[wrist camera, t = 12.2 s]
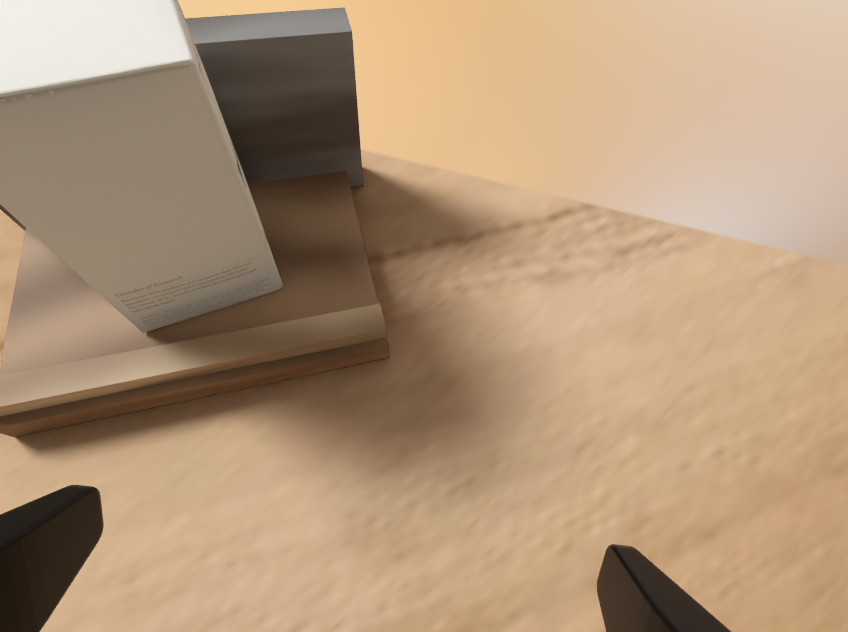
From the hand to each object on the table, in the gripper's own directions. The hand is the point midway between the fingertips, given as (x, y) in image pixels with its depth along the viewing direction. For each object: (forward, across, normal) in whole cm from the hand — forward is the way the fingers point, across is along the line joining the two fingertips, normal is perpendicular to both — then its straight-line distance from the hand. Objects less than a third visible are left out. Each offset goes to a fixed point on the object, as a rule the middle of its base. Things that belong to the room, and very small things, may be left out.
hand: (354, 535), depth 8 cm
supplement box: (+18, +12, 0) cm, 21 cm away
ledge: (+18, +12, +1) cm, 22 cm away
